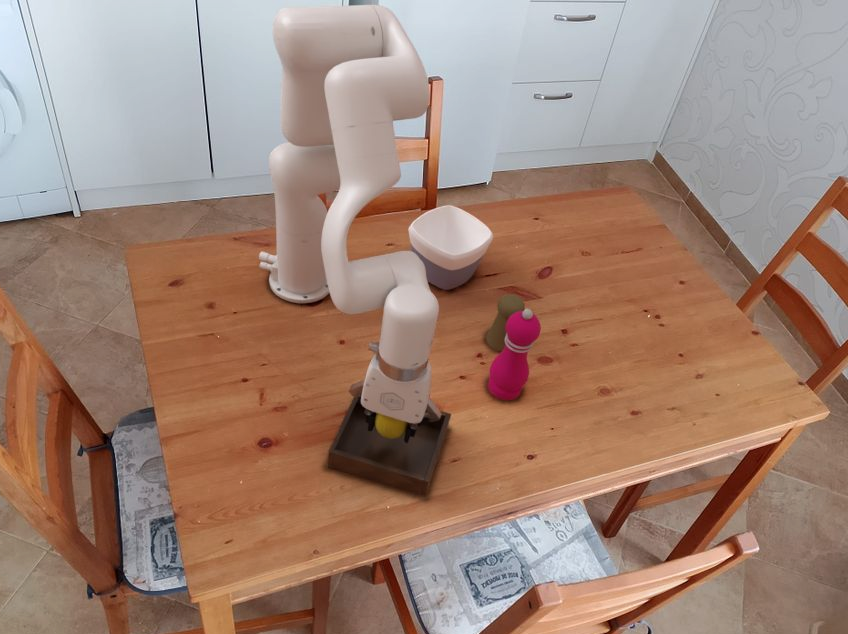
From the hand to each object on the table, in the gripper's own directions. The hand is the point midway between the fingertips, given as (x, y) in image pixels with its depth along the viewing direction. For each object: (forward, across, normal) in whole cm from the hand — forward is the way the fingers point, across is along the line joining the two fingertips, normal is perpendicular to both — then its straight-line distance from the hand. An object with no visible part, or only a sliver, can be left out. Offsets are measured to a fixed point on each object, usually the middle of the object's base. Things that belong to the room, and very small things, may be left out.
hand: (390, 429), depth 120 cm
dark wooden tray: (+4, 0, 0) cm, 4 cm away
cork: (+5, +14, +32) cm, 35 cm away
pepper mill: (+4, +16, +20) cm, 26 cm away
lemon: (+1, 0, 0) cm, 1 cm away
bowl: (+5, -2, +48) cm, 48 cm away
